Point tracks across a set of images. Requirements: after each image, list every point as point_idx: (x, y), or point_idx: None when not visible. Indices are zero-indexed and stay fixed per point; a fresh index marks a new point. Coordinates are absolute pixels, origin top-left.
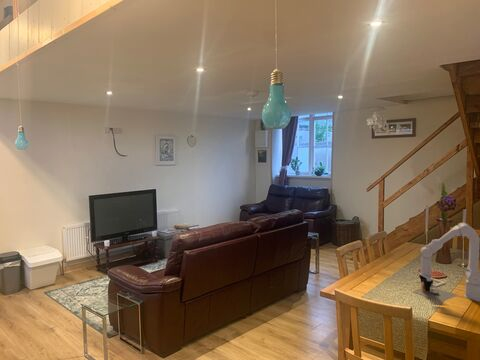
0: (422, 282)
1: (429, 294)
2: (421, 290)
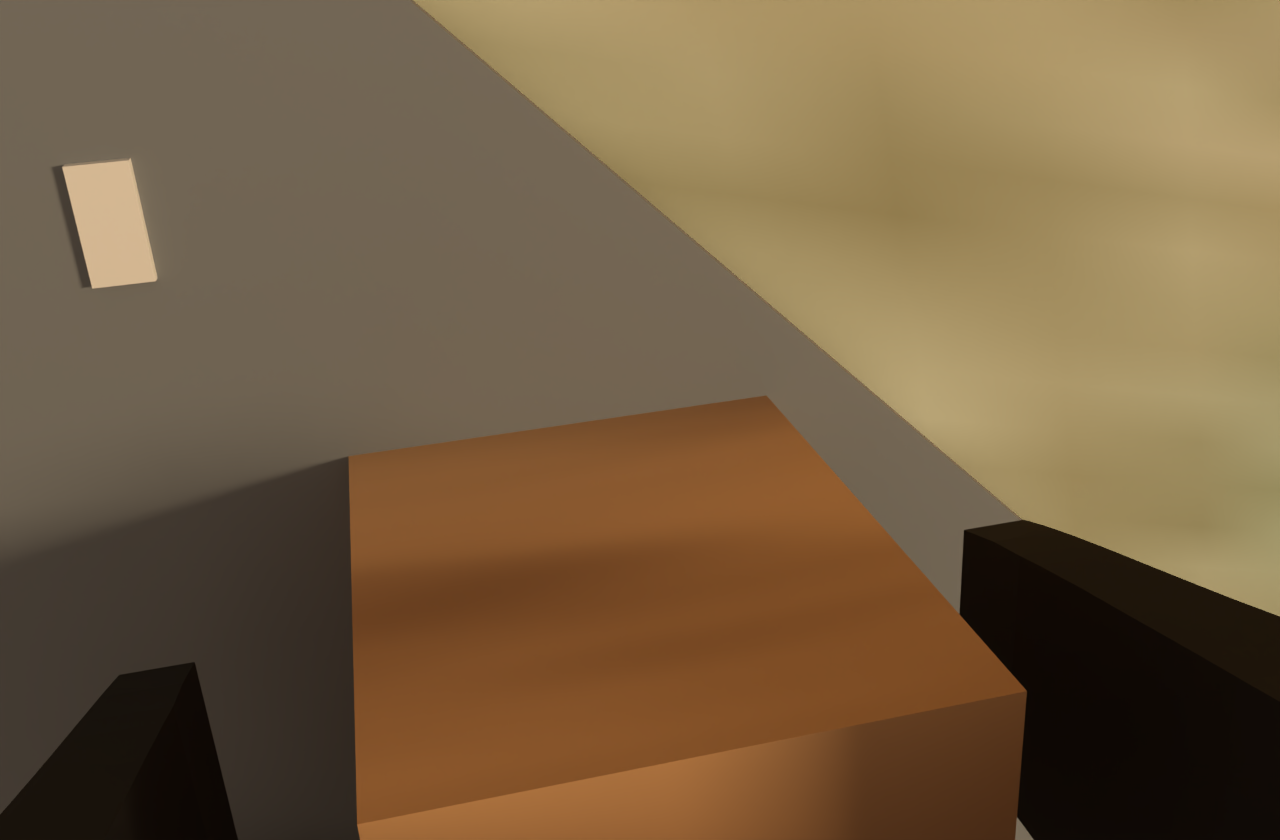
0: (791, 783)
1: (11, 775)
2: (593, 399)
